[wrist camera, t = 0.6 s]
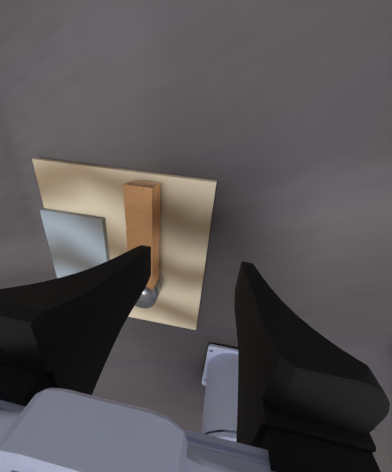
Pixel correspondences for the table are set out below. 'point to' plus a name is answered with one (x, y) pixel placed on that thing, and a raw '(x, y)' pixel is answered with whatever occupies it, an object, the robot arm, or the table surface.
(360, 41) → the table surface
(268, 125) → the table surface
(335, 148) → the table surface
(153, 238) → the bar
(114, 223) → the door frame board
